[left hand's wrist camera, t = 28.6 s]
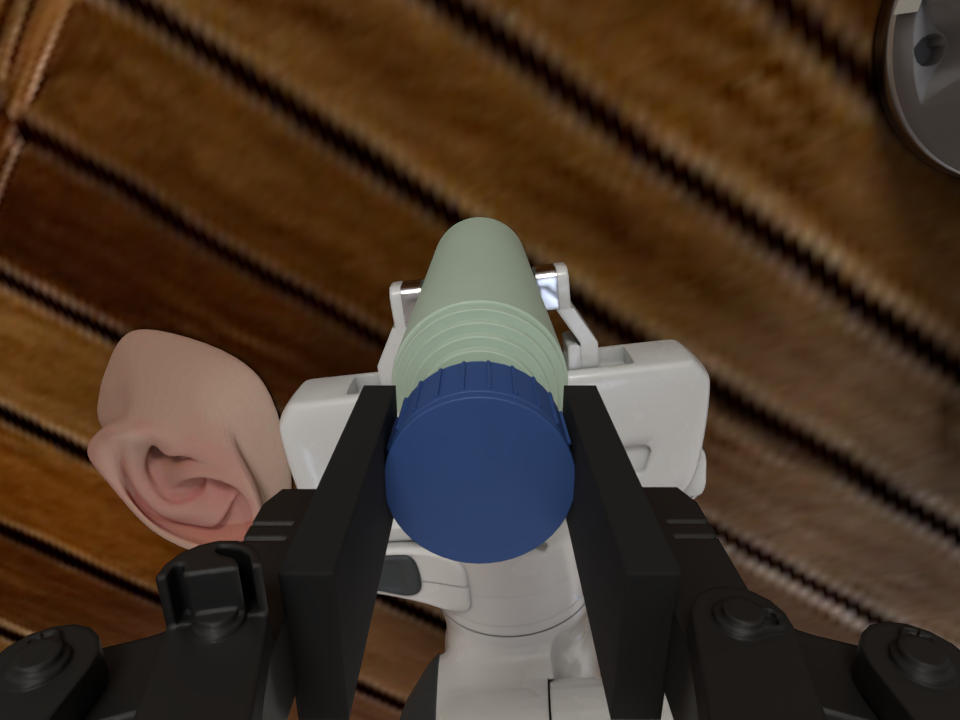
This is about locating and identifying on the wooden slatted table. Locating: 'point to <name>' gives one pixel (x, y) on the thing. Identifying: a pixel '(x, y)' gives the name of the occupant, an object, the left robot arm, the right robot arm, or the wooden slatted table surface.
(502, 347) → the bottle
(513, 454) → the cap
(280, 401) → the wooden slatted table surface
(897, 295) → the wooden slatted table surface
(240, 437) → the anatomical model
